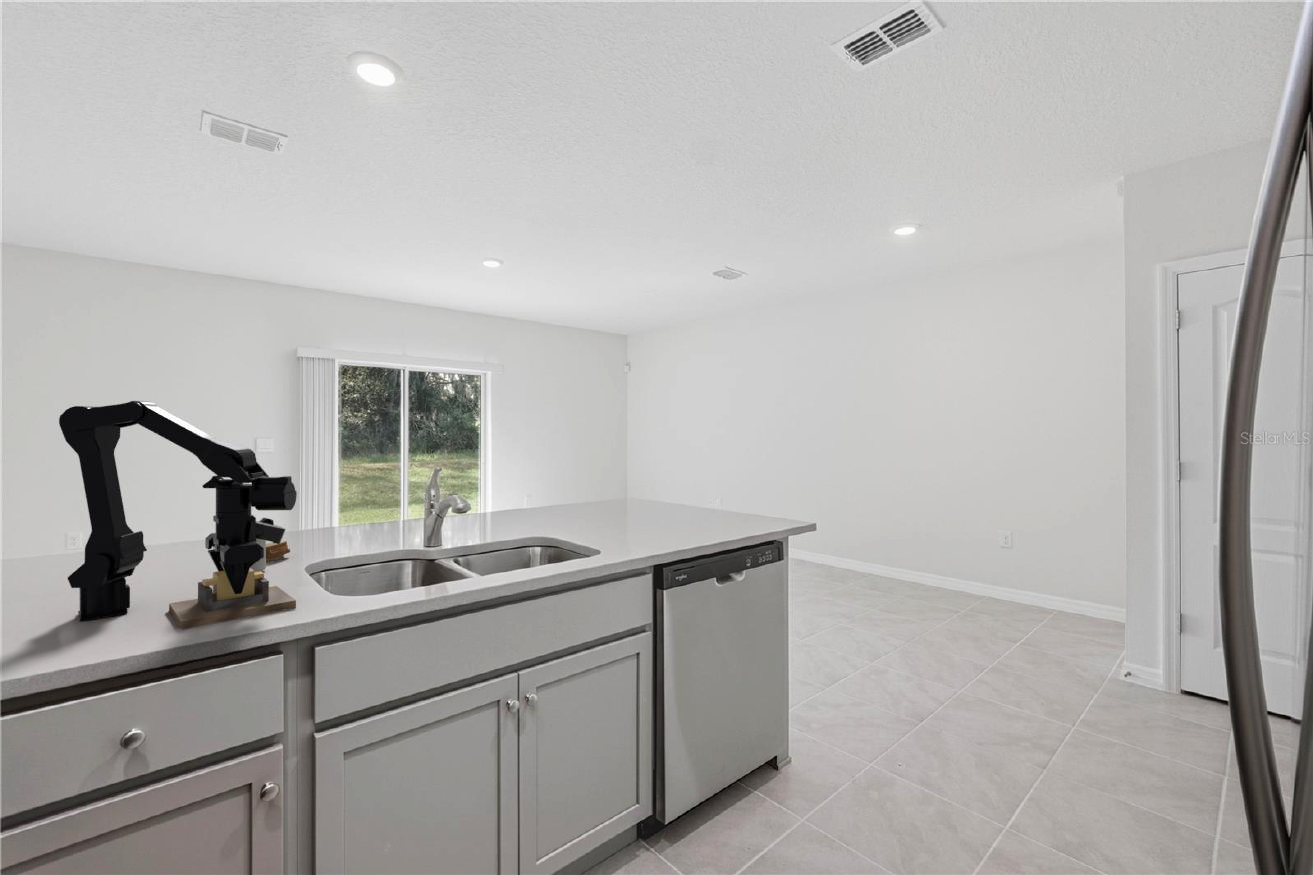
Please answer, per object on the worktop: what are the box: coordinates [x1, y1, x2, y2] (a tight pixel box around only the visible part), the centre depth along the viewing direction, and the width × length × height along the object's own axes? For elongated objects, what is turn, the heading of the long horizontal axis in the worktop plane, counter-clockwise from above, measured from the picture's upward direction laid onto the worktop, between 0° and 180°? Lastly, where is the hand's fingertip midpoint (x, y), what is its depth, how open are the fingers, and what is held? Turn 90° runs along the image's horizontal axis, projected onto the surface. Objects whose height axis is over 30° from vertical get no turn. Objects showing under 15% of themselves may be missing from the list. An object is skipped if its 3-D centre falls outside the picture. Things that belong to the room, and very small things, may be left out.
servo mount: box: [168, 577, 297, 630], centre depth 115 cm, size 18×14×6 cm
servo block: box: [201, 568, 265, 602], centre depth 115 cm, size 10×4×6 cm, turn 137°
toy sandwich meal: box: [266, 540, 291, 563], centre depth 155 cm, size 12×14×5 cm
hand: (233, 589), depth 115 cm, fingers open, 8 cm apart
